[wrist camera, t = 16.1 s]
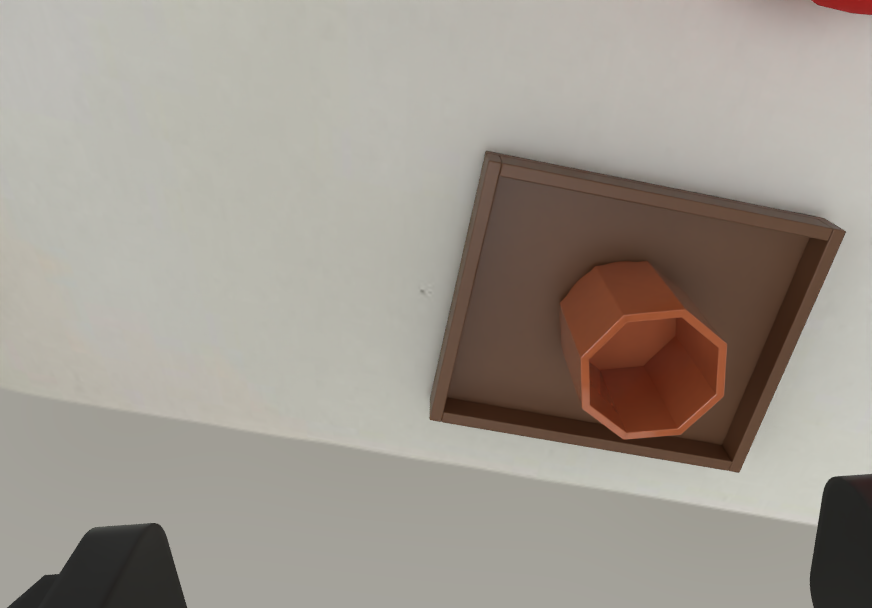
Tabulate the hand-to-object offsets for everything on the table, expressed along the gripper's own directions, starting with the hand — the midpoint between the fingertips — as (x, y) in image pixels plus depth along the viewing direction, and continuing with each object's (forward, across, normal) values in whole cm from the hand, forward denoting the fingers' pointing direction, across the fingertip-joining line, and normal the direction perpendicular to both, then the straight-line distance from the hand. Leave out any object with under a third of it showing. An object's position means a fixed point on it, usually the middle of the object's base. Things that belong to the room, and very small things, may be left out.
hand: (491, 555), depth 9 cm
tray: (+26, -8, +9) cm, 28 cm away
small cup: (+25, -8, +9) cm, 28 cm away
